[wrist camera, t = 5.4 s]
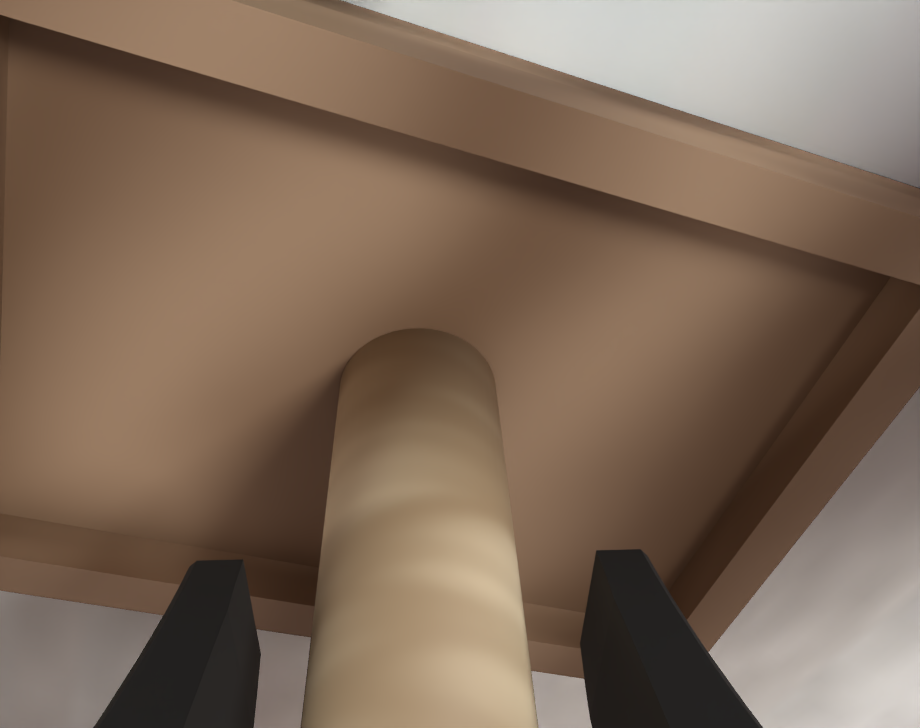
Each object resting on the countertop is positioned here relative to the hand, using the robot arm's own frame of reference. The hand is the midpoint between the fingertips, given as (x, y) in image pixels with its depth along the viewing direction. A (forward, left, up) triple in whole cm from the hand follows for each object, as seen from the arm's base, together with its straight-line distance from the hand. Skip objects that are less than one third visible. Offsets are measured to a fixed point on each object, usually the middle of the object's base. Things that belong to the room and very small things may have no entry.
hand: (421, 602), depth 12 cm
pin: (0, 0, -5) cm, 5 cm away
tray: (0, 0, -5) cm, 5 cm away
